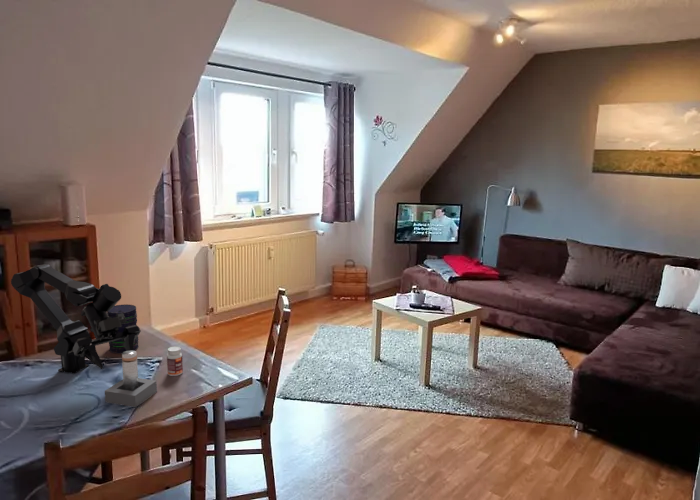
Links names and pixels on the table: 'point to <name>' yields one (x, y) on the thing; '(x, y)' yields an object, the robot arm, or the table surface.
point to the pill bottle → (174, 361)
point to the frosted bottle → (130, 370)
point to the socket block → (130, 393)
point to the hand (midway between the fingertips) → (118, 363)
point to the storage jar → (123, 326)
